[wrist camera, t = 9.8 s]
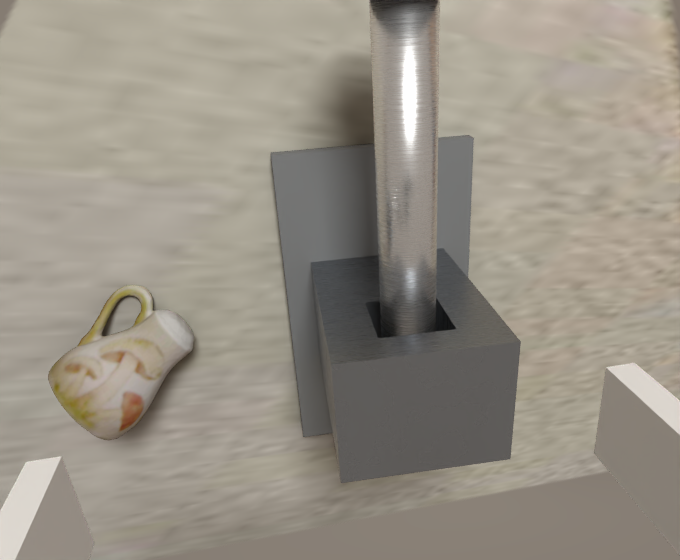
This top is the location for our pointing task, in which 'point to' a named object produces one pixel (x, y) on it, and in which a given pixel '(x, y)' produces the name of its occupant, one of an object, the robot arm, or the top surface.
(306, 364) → the mat
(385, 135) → the shaft
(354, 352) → the bearing block
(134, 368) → the mug
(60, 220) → the top surface
